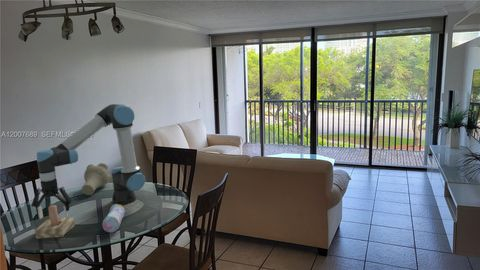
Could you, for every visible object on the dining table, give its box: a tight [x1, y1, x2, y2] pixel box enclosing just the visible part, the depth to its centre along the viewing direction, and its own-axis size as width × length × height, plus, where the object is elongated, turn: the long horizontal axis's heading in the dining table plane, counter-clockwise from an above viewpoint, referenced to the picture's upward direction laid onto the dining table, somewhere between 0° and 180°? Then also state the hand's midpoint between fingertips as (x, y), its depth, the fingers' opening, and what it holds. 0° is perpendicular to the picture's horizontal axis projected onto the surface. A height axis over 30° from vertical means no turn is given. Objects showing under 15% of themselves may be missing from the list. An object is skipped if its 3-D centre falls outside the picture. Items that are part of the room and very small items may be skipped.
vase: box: [81, 162, 112, 196], centre depth 248 cm, size 22×22×28 cm
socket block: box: [34, 217, 76, 239], centre depth 185 cm, size 14×14×4 cm
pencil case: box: [102, 204, 126, 234], centre depth 189 cm, size 21×9×10 cm, turn 10°
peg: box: [47, 204, 60, 226], centre depth 184 cm, size 4×4×14 cm
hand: (54, 217), depth 184 cm, fingers open, 13 cm apart
